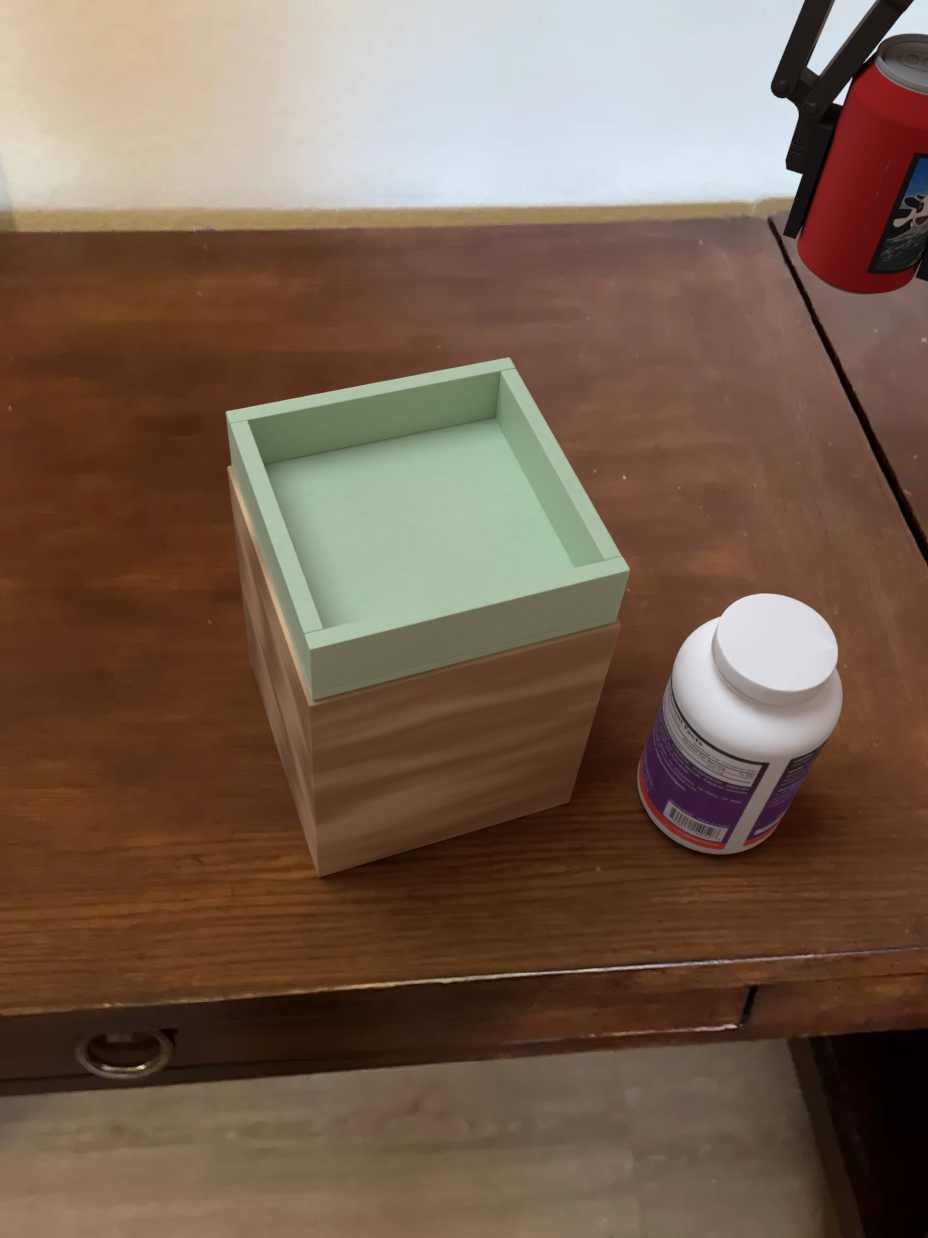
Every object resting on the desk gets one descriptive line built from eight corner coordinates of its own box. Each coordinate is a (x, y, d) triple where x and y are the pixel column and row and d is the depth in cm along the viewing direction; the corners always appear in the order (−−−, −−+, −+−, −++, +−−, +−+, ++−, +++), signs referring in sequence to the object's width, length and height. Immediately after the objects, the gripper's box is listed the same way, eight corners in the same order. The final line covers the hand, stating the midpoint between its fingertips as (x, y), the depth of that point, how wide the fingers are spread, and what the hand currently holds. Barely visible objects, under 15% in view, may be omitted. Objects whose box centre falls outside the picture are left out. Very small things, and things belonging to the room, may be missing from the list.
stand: (569, 803, 65) (621, 624, 53) (318, 878, 62) (308, 706, 49) (478, 606, 73) (504, 409, 60) (250, 662, 69) (226, 465, 57)
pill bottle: (753, 725, 69) (831, 563, 58) (799, 852, 64) (896, 703, 53) (616, 740, 68) (669, 578, 56) (654, 871, 63) (720, 723, 52)
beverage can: (902, 319, 66) (995, 110, 56) (781, 284, 67) (851, 74, 57) (919, 251, 70) (1008, 46, 60) (804, 219, 71) (873, 13, 61)
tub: (615, 622, 53) (630, 570, 50) (312, 701, 49) (309, 649, 46) (502, 412, 60) (509, 356, 57) (231, 468, 56) (225, 411, 54)
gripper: (1305, -213, 49) (1048, 265, 67) (835, -317, 53) (712, 160, 71) (1302, -152, 45) (1028, 341, 63) (790, -270, 49) (671, 225, 67)
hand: (860, 244), depth 67 cm, fingers closed on beverage can, 7 cm apart
